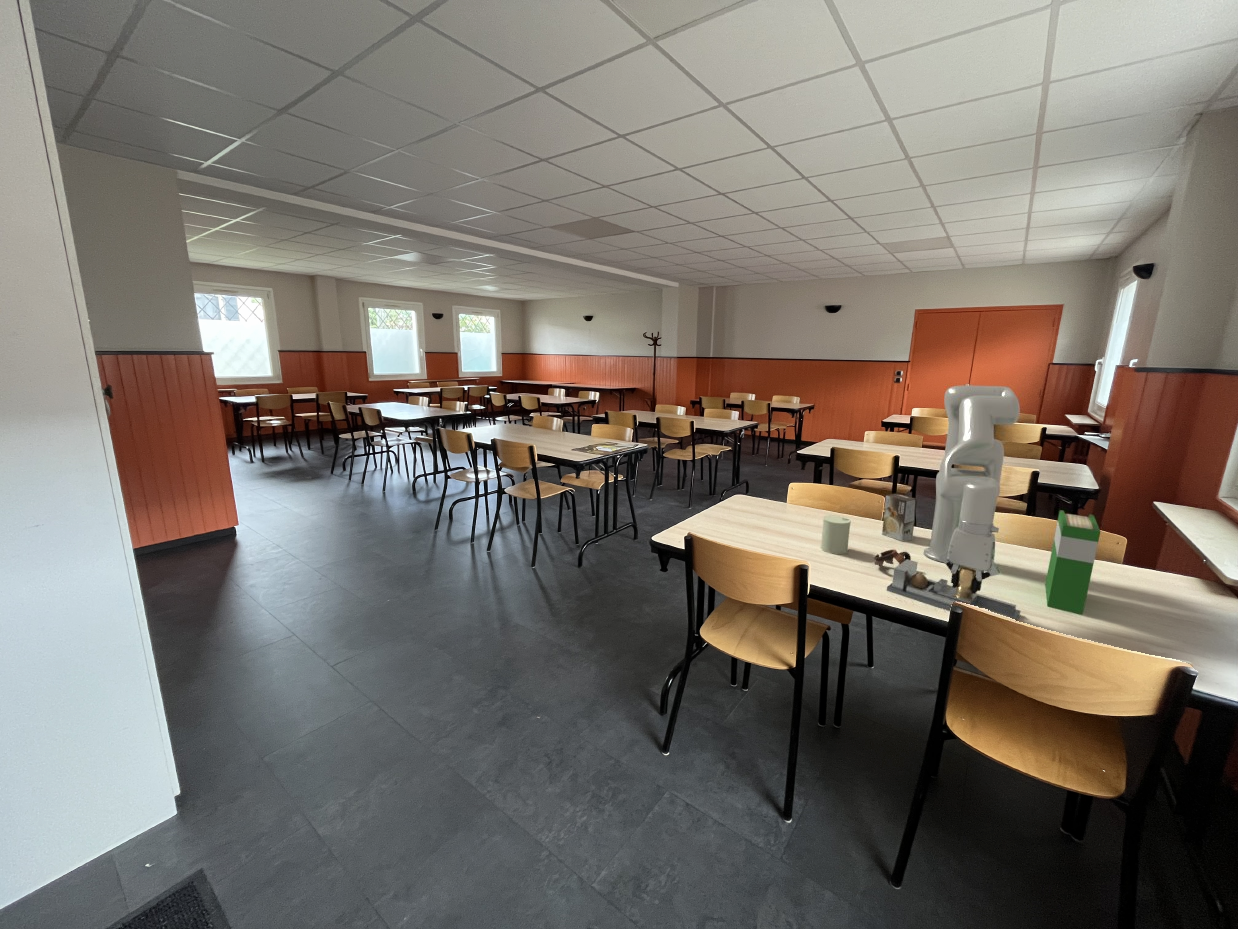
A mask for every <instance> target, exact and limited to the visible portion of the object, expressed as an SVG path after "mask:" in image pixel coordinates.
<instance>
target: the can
mask: <svg viewBox="0 0 1238 929" xmlns="http://www.w3.org/2000/svg"><path fill="white" fill-rule="evenodd" d="M851 522H852V521H851V519H850V518H849V517H845V516H841V515H836V514H835V515H833V514H831V515H830V514H829V515H824V516H823V520H822V532H821V543H820V550H822V551H823V552H825V553H829V554H834V555H845V554H847V553H848V552H849V548H848V547H849V541H850V540H849V538H850V529H851Z"/></svg>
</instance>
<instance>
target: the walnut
mask: <svg viewBox="0 0 1238 929" xmlns="http://www.w3.org/2000/svg"><path fill="white" fill-rule="evenodd" d="M927 579H928V578H927V577H926V576H925V575H924V574H921V573H916V574H914V575H913V576H912V577H911V584H912V585H913V586H914V587H915V588H919V589H923V588H925V587H926V586H927V584H928V580H927Z"/></svg>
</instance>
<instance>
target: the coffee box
mask: <svg viewBox="0 0 1238 929" xmlns="http://www.w3.org/2000/svg"><path fill="white" fill-rule="evenodd" d="M917 503H918V499H917V498H916V497H911V496H908V495H904V494H900V493H891V494H887V495H886V496H885V504H884V512H883V521H882V522H883V523H882V532H881V535H883V536H887V537H890V538H892V539H894V540H896V541H901V542H906V541H910V540H913V537H914V528H915V519H916V511H917Z"/></svg>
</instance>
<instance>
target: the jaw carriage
mask: <svg viewBox="0 0 1238 929" xmlns="http://www.w3.org/2000/svg"><path fill="white" fill-rule="evenodd" d="M975 579H976V569H972V568H969V567H965V566H960V568H959V575H958V581H957V587H956V588H953V587H952V586H953V585H949V584H948V583H949V582H948V580H947V579H943V578H941V579H939V580H938V581H936V582H937V583H936V584H935V585H934V592H933V593H935V594H938V595H941V596H944V597H948V598H951V599H954V600H957V601H960V602H964V603H967V604H970V605H974V604H975V602H976V601H977V599H978V594H979V593H977V592H976V593H975V594H973V593H972V588H973V582H974V580H975Z"/></svg>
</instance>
